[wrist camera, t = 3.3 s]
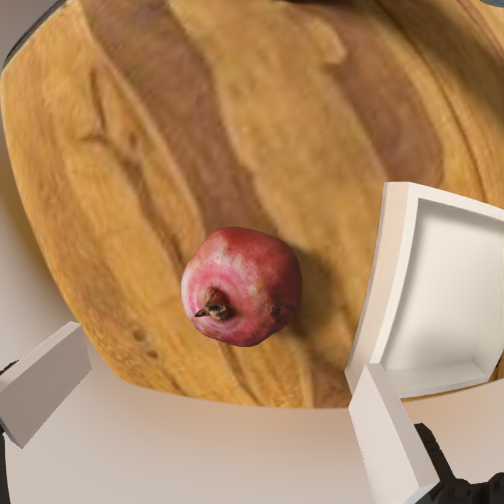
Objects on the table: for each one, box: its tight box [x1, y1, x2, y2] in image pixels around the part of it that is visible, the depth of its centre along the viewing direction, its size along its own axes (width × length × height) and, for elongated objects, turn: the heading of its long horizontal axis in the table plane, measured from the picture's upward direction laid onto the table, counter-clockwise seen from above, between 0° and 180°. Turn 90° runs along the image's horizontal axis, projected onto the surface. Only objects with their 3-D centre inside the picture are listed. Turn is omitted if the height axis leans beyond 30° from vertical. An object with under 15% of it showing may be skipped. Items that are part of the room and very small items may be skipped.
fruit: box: [181, 227, 302, 347], centre depth 20 cm, size 9×10×10 cm
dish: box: [344, 182, 504, 398], centre depth 21 cm, size 20×20×5 cm
